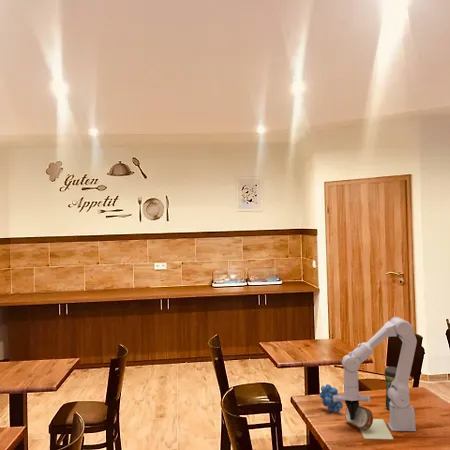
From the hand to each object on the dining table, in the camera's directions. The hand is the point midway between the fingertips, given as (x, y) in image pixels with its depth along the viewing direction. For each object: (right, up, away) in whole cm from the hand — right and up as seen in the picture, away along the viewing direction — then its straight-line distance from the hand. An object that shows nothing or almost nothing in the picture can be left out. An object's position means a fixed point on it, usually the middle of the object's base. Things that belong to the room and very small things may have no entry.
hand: (352, 419), depth 199 cm
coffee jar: (+25, -4, +20) cm, 33 cm away
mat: (+8, -4, -1) cm, 9 cm away
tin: (+1, -3, 0) cm, 3 cm away
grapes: (-5, -5, +19) cm, 20 cm away
